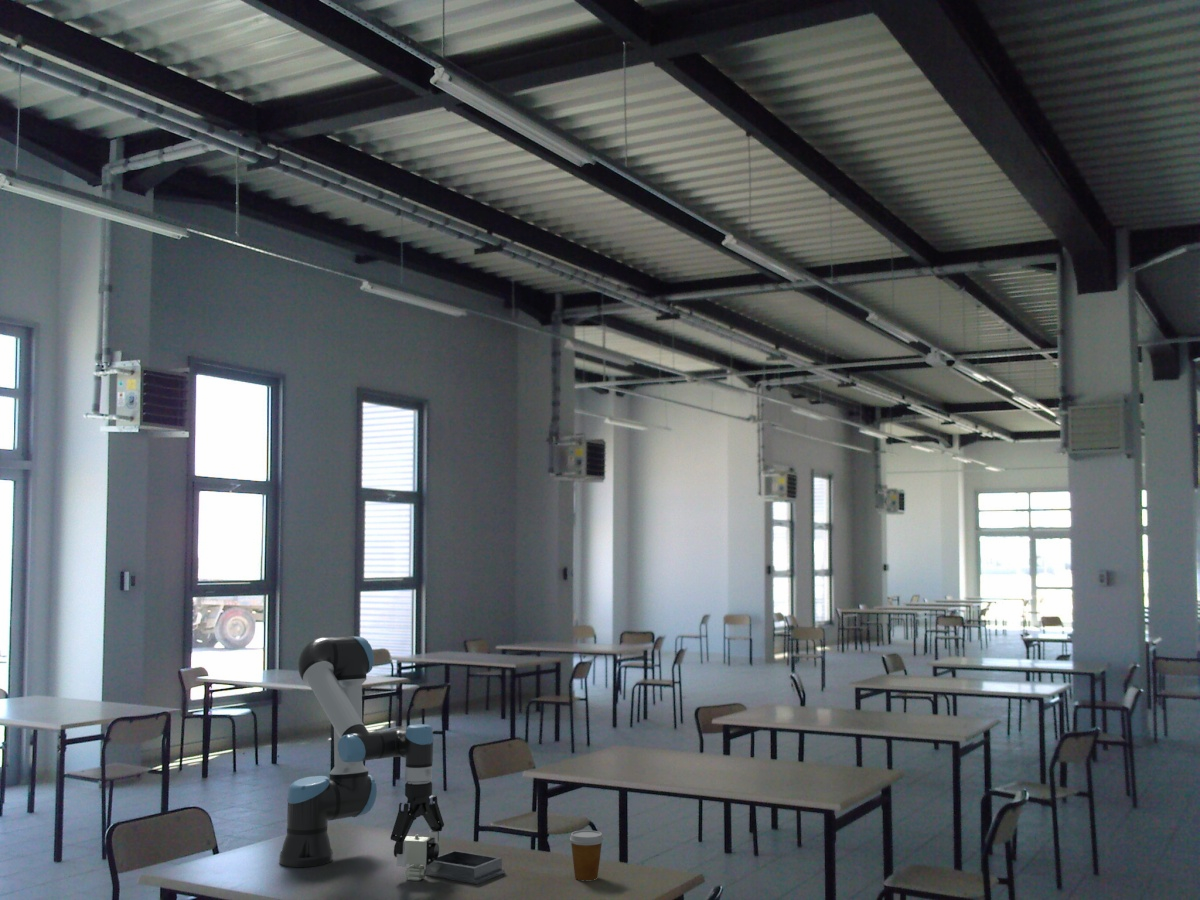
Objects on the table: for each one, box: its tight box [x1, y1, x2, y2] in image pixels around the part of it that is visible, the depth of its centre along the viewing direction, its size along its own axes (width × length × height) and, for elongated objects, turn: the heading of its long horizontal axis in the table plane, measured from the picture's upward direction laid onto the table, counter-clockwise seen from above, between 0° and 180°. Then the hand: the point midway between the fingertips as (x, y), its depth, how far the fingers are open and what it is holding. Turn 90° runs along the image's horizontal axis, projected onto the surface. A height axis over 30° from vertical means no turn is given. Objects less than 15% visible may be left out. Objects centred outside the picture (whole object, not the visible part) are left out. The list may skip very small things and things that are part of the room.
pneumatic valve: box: [393, 834, 440, 882], centre depth 297 cm, size 6×12×12 cm, turn 78°
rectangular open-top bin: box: [425, 849, 505, 885], centre depth 302 cm, size 19×13×4 cm
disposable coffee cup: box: [569, 829, 604, 881], centre depth 299 cm, size 10×10×12 cm
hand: (417, 860), depth 297 cm, fingers open, 13 cm apart
